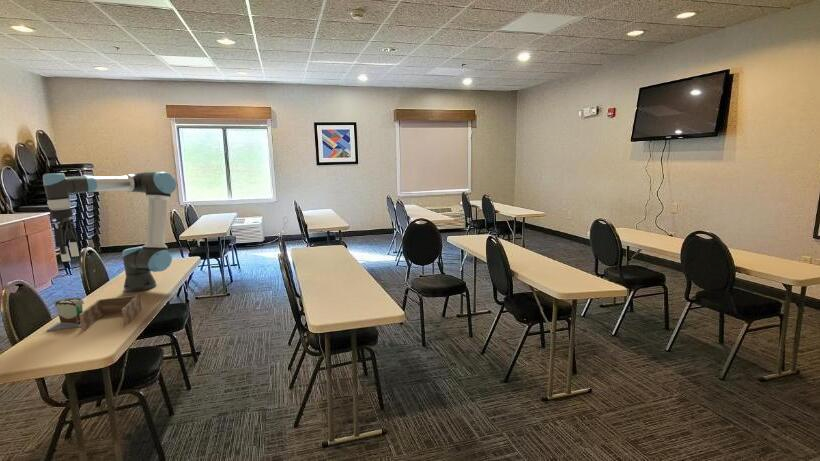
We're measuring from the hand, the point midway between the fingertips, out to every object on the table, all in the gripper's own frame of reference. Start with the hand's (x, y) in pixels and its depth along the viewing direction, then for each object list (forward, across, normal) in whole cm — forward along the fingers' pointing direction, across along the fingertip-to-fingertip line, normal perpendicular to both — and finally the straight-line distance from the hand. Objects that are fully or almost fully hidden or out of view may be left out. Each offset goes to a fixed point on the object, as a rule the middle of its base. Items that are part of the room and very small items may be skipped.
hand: (70, 258), depth 184 cm
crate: (+27, +12, +16) cm, 33 cm away
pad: (+27, +12, 0) cm, 29 cm away
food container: (+27, +9, +1) cm, 28 cm away
